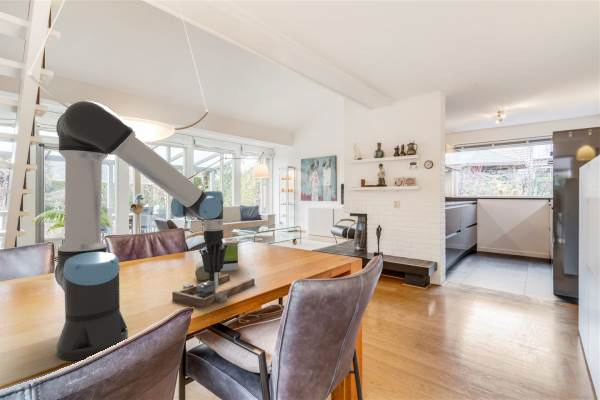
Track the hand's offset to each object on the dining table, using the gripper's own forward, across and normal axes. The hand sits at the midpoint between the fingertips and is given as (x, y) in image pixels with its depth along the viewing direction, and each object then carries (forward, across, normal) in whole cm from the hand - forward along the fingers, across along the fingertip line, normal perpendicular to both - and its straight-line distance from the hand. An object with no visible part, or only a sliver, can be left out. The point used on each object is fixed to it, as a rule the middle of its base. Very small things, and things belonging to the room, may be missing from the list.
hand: (214, 288), depth 116 cm
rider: (+2, -4, 0) cm, 4 cm away
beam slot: (+2, +2, 0) cm, 2 cm away
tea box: (+2, +32, +23) cm, 39 cm away
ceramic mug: (+2, +12, +17) cm, 21 cm away
